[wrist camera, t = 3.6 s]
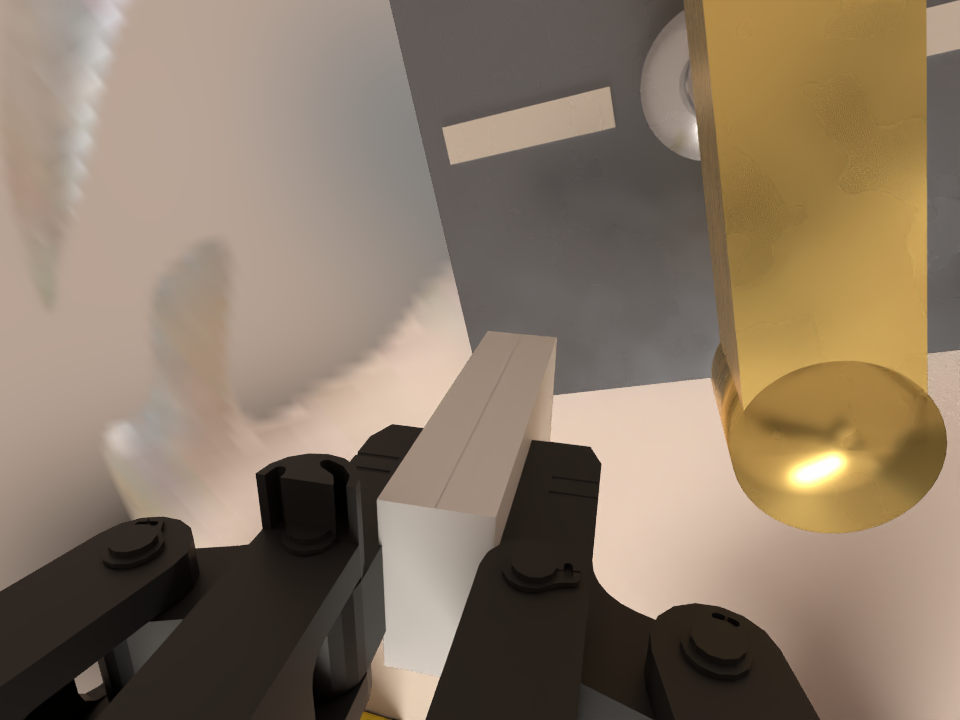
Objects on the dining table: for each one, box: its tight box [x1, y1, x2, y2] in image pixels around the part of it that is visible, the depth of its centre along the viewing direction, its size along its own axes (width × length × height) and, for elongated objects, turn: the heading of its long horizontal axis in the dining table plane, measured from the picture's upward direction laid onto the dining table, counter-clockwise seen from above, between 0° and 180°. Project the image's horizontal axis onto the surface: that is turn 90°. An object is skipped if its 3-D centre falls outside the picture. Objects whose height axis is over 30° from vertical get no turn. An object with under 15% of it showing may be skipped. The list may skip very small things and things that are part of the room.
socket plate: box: [389, 0, 960, 395], centre depth 20 cm, size 22×22×8 cm
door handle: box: [683, 0, 947, 533], centre depth 13 cm, size 4×18×7 cm, turn 14°
